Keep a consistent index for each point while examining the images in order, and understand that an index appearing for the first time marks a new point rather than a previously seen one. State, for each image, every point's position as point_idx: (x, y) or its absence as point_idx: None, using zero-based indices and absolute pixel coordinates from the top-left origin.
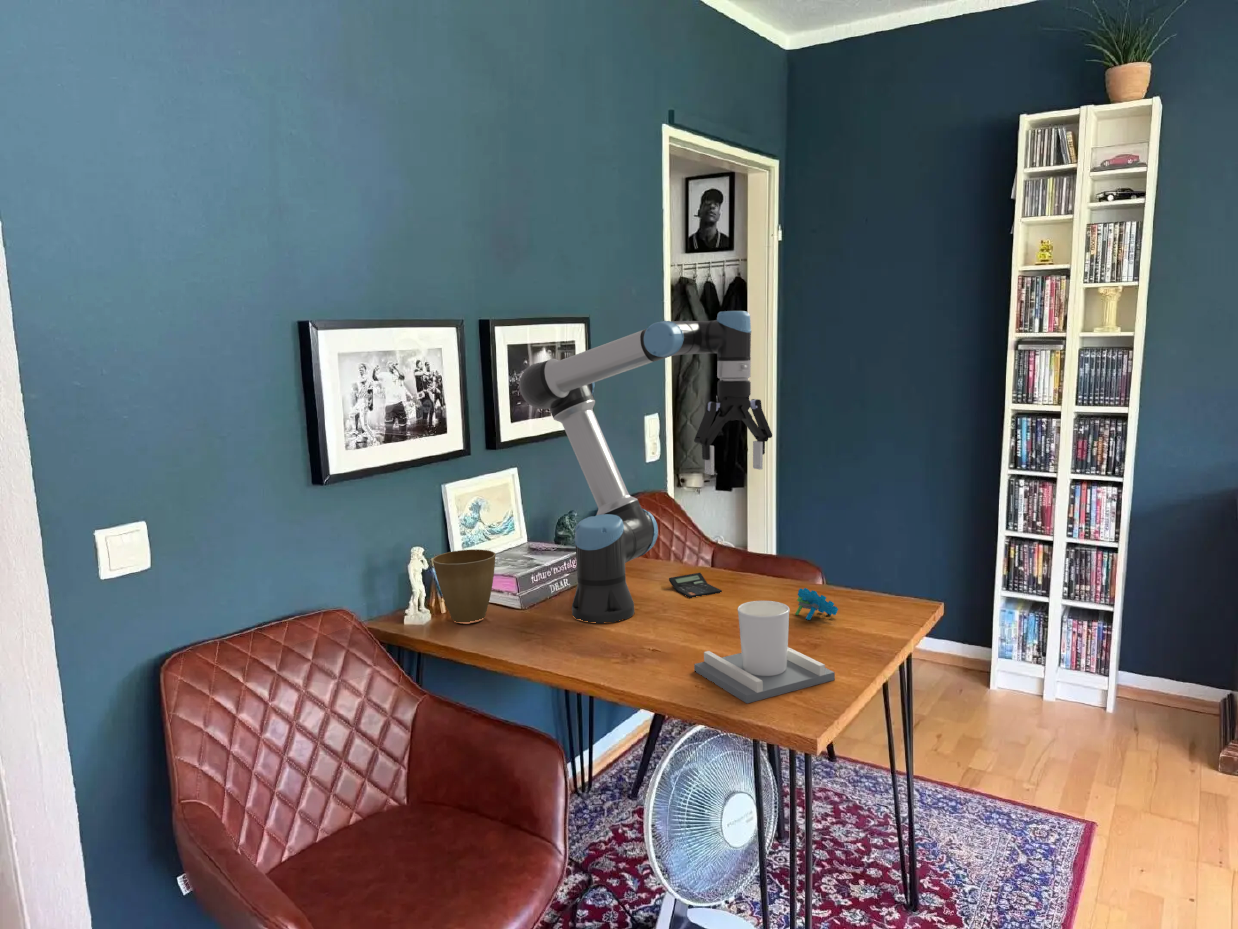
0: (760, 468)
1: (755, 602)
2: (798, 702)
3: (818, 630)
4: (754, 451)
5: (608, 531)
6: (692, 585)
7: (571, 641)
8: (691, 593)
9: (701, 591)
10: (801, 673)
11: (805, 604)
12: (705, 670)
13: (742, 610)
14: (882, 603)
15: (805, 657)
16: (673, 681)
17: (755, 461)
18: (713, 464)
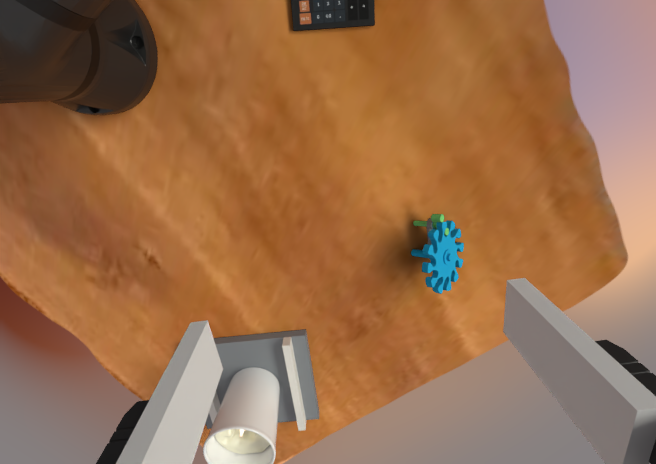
0: (509, 335)
1: (242, 428)
2: None
3: (399, 290)
4: (568, 360)
5: None
6: None
7: (25, 171)
8: (305, 11)
9: (331, 7)
10: (285, 409)
11: (429, 241)
12: None
13: (220, 425)
14: (568, 234)
15: (297, 409)
16: (152, 354)
17: (527, 324)
18: (205, 411)
